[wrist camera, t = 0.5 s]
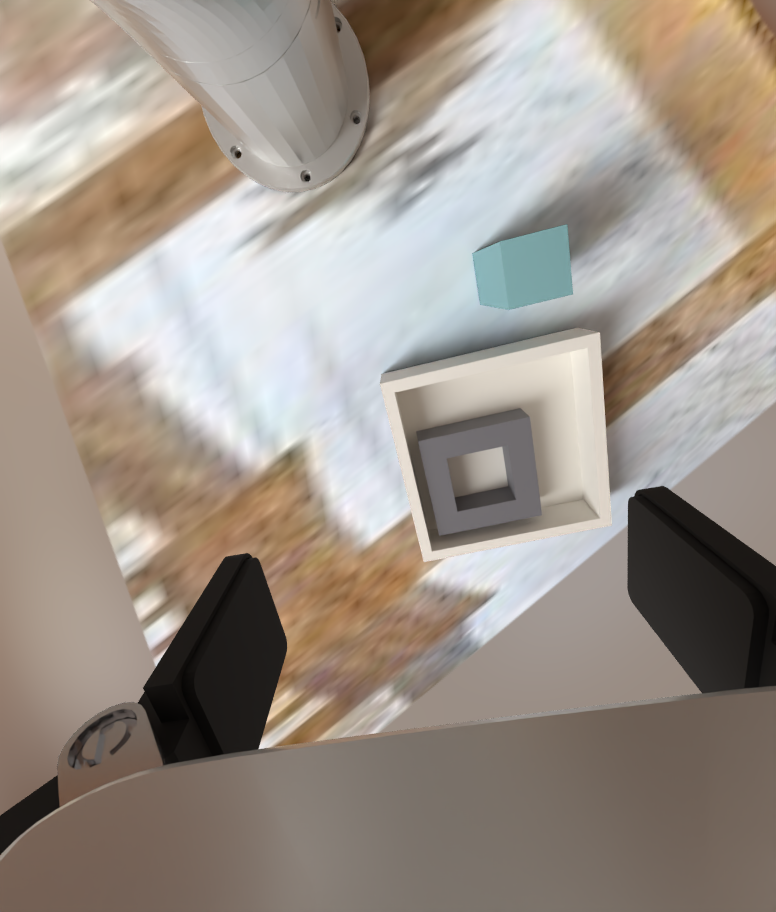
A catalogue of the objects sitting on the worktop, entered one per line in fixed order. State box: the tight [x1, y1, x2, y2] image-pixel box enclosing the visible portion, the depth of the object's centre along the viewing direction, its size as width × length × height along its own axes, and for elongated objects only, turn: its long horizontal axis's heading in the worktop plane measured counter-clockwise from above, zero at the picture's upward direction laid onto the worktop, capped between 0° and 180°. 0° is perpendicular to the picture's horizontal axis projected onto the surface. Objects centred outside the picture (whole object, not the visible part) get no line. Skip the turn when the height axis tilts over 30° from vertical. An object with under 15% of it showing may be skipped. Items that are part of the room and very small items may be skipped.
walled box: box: [380, 328, 612, 562], centre depth 41 cm, size 18×18×4 cm
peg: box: [472, 224, 573, 310], centre depth 33 cm, size 4×4×10 cm
